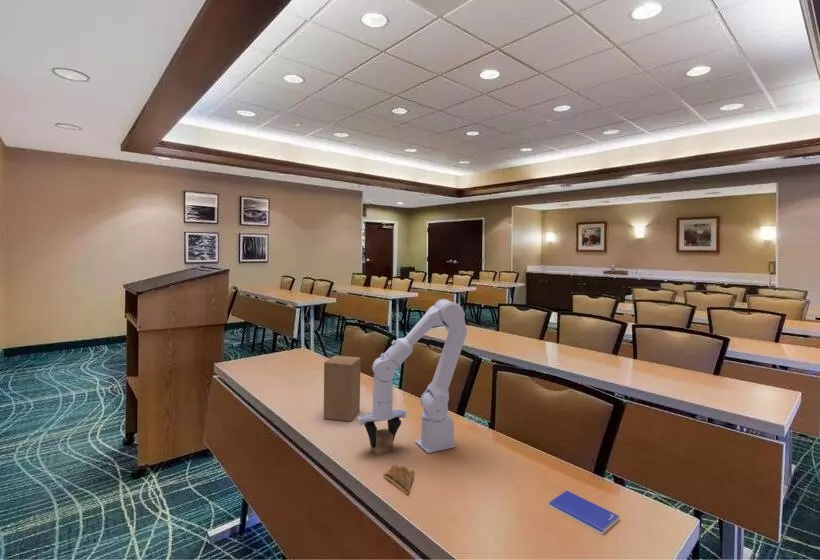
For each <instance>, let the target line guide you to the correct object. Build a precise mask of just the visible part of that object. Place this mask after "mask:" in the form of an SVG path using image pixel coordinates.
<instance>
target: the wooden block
mask: <svg viewBox="0 0 820 560" xmlns="http://www.w3.org/2000/svg"><path fill="white" fill-rule="evenodd" d="M323 363H324V364H323V370H324V371H323V419H324V420H332V421H341V422H342V421H343V422H348V423H349V422H352V420H353V419H354V418H355V417H356V415H358V414H359V412H360V410H361V409H360V408H361V406H360V405H361V357H359V356H346V355H334V356H332V357H331V358H329V359H327V360H325V361H324V362H323Z"/></svg>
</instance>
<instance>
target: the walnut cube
mask: <svg viewBox="0 0 820 560" xmlns="http://www.w3.org/2000/svg"><path fill="white" fill-rule="evenodd" d="M370 448H371V450H372V451H373V452H374V453H375V455H383V454H388V453H393V452H394V441H393V434H392V433H391V432H390V431H389V430H388V427H387V428H386V427H385V428H382V429H381V428H379V429H377V430H376V437H375V448H372V447H371V446H370Z"/></svg>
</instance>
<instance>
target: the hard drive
mask: <svg viewBox="0 0 820 560" xmlns="http://www.w3.org/2000/svg"><path fill="white" fill-rule="evenodd" d="M548 506H549V507H550V508H552V509H553V510H556V511H558V512H559V513H561V514H563V515H565V516H567V517H568V518H570V519H572V520H574V521H576V522H577V523H579V524H581V525H584V526H585V527H587V528H588V529H590V530H592V531H594V532H596V533H598V534H600V535H602V536H603V535H604V534H605V533H606V532H607V531H608V530H609V529H611V528H612V527H613V526H614V525H615V524H616V523H617V522H619V520H620V515H619V514H616V513H614V512H612V511H610V510H608V509H606V508H604V507H602V506H600V505H598V504H596V503H593V502H591V501H589V500H588V499H586V498H583V497H581V496H579V495H577V494H575V493H573V492H571V491H569V490H566V491H564V492H562V493H560V494H559V495H558V496H556V497H555V498H553V499H552V500H550V502H548Z"/></svg>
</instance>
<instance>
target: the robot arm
mask: <svg viewBox="0 0 820 560" xmlns="http://www.w3.org/2000/svg"><path fill="white" fill-rule="evenodd" d="M465 315H466V313H465V311H464V310H463V308H462V306H461V305H460V304H458V303H457V302H453V301H451V300H449V299H447V298H440V299H438V300H437V301H435V303H434V305H432V306H430V307H429V308H428V310H427V311H426V312H425V314H424V315H423V316H422V317H421V318H420V319H419V321H418V322H417V323H416V324H415V325H414V326H413V327H412V328H411V330H410V331H409V332H408V333H407V334H406V336H405V337H399V338H397V339H396V340H395V339H393V340H392V341H391V345H390V347H388V349H387V350H386V351H385V352H382V353H381V354H380V357H377V358H376V359H374V362H373V363H372V365H371V370H372V372H373V373H374V374H373V383H372V412H368V413H366V414H363V415H359V416H357V424H358V425H359V426H360V427H361V426H364V427H365V429H366V433H367V435H368V439H369V443H370V448H371V447H372V448H375V437H376V430H378V427H377V426H376V423H377V422H378V423H379V422H382V421H383V422H384V421H387V429H388V430H389V431H390V432H391V433H392V434H393V442H394V441H395V438H396V434H397V432H398V430H399V428H400V426H401V425H402V420H401V418H402V419H405V418H407V411H406V410H405V409H393V395H394V393H393V392H394V391H393V389H394V387H393V385H394V384H393V378H394V377H395V374H396V369H397V368H399V367H400V366H401V365H402V364H403V363H404V362H405V361H406V359H408V357H409V356H410V355H411V354H412V353H413V351H414V350H413V348H414V345H415V344H416V343H417V342H418V341H419V340H420V339H422V337H423V336H425V334H427V332H429V330H430V329H432V328H434V327H440V326H441V327H442V326H444V327H445V329H446V331H447V337H446V339H445V342H444V345H443V347H442V351H441V354H440V357H439V361H438V363H437V365H436V368H435V369H436V370H435V372H434V376H433V378H432V381H431V382H430V383H429V384H428V385H427V387H426V389H425V391H424V392H423V393H422V394H421V396H420V405H421V407H422V408H423V410H422V413H421V425H420V429H421V430H420V432H421V433H420V439H415V443H416V444H417V445H418V446H419V447H420V448H421V449H423V450H424V452H426V453H427V454H431V453H435V452H439V451H444V450H448V449H452V448H455V447H456V445H455V444H454V443H455V441H454V439H455V437H454V435H455V424H454V420H453V417H452V415H450V414H449V404H448V403H449V401H450V392H449V388H450V385H451V382H452V380H453V376H454V373H455V370H456V368H457V364H458V361H459V359H460V355H461V352H462V349H463V346H464V343H465V341H466V337H467V334H468V330H467V326H466V320H465V317H466V316H465ZM372 448H371V449H372Z"/></svg>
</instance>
